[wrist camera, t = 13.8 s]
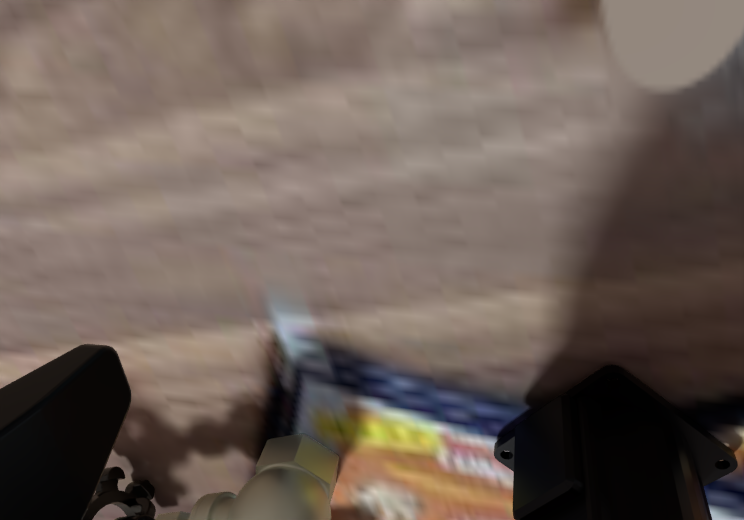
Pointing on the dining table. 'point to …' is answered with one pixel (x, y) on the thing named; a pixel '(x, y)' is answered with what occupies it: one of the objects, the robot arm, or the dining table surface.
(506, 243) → the dining table surface
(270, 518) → the valve
